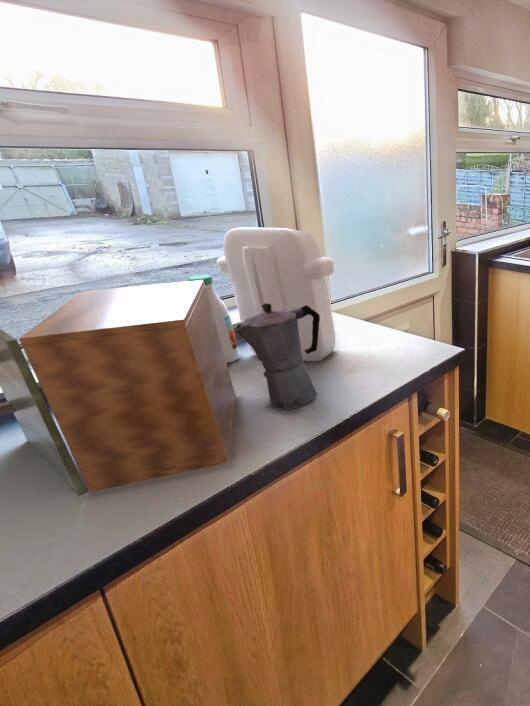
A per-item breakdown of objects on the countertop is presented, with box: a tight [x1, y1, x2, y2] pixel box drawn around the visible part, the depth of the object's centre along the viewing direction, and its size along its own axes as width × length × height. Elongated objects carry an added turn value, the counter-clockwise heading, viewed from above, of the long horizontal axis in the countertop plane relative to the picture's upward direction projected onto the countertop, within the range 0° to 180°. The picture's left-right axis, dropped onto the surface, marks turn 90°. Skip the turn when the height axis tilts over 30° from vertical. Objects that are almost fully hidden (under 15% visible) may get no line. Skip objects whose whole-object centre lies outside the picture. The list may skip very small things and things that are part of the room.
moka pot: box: [233, 303, 320, 410], centre depth 95 cm, size 10×15×20 cm, turn 137°
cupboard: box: [18, 280, 237, 493], centre depth 81 cm, size 18×26×24 cm
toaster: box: [216, 226, 336, 362], centre depth 115 cm, size 27×11×30 cm, turn 77°
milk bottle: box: [187, 274, 241, 364], centre depth 115 cm, size 8×8×20 cm
